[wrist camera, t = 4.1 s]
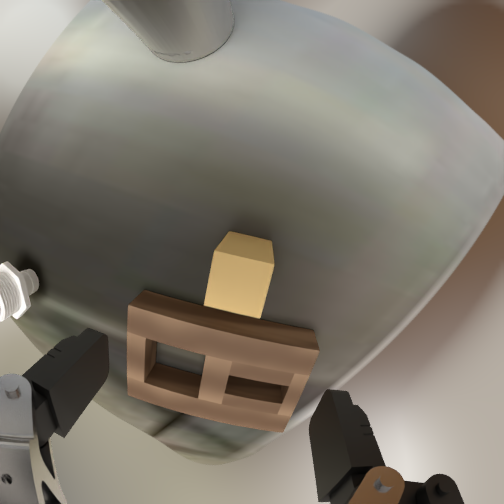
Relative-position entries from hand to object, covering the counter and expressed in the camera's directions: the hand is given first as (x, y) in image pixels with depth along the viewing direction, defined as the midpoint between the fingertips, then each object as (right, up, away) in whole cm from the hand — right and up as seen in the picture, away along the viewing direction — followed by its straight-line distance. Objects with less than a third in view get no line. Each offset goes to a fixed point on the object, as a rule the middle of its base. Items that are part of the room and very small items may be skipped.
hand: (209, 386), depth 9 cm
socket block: (-2, -7, +21) cm, 22 cm away
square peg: (+1, +4, +18) cm, 18 cm away
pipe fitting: (-28, +1, +20) cm, 34 cm away
